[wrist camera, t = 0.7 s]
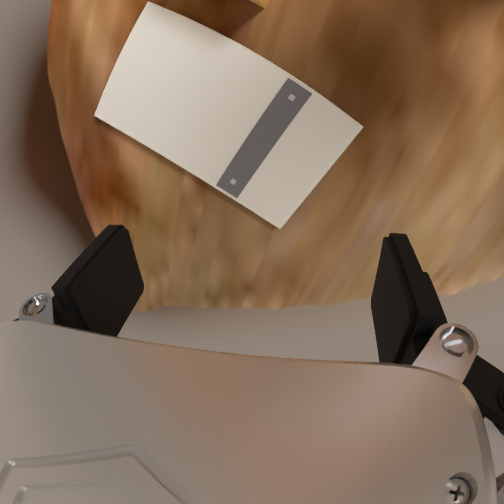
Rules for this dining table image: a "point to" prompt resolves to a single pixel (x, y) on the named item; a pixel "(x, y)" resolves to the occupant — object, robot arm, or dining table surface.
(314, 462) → the robot arm
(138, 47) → the white flat panel
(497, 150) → the dining table surface
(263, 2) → the tan rectangular block
